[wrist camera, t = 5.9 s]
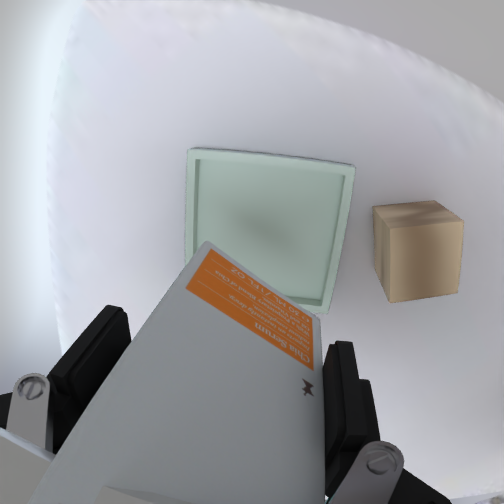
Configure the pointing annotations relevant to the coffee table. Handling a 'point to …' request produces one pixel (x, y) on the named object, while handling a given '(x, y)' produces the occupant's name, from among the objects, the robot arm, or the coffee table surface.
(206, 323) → the skincare box
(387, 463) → the robot arm
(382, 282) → the oak cube
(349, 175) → the tray
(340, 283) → the coffee table surface
